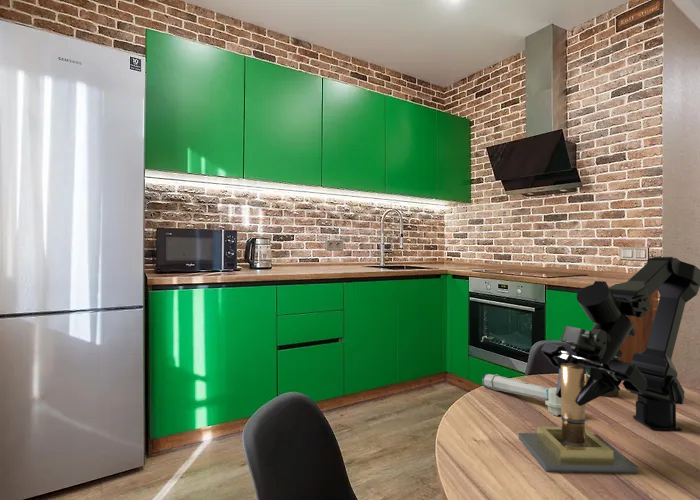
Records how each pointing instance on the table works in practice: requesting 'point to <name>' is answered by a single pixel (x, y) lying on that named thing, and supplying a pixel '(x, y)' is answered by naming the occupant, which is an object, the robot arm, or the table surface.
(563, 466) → the framed base plate
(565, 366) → the tube
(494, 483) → the table surface
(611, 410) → the table surface
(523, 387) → the light grey long piece
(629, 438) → the table surface
